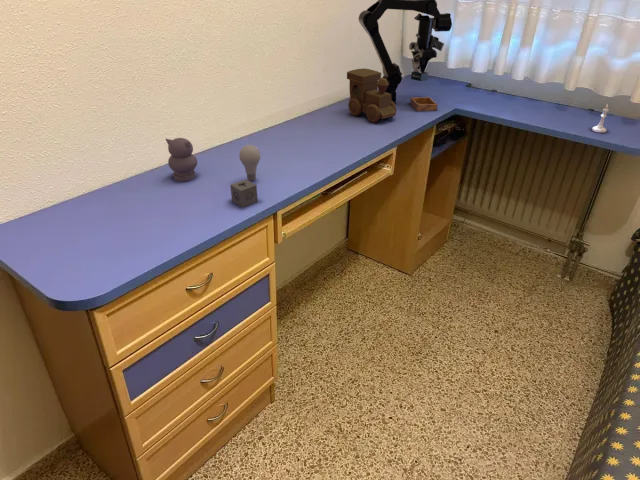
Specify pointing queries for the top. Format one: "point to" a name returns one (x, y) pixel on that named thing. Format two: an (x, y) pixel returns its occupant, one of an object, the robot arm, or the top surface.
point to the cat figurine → (181, 159)
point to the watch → (416, 73)
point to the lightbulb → (250, 160)
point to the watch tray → (423, 104)
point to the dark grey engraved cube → (244, 193)
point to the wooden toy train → (369, 95)
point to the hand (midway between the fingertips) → (420, 71)
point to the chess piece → (601, 122)
